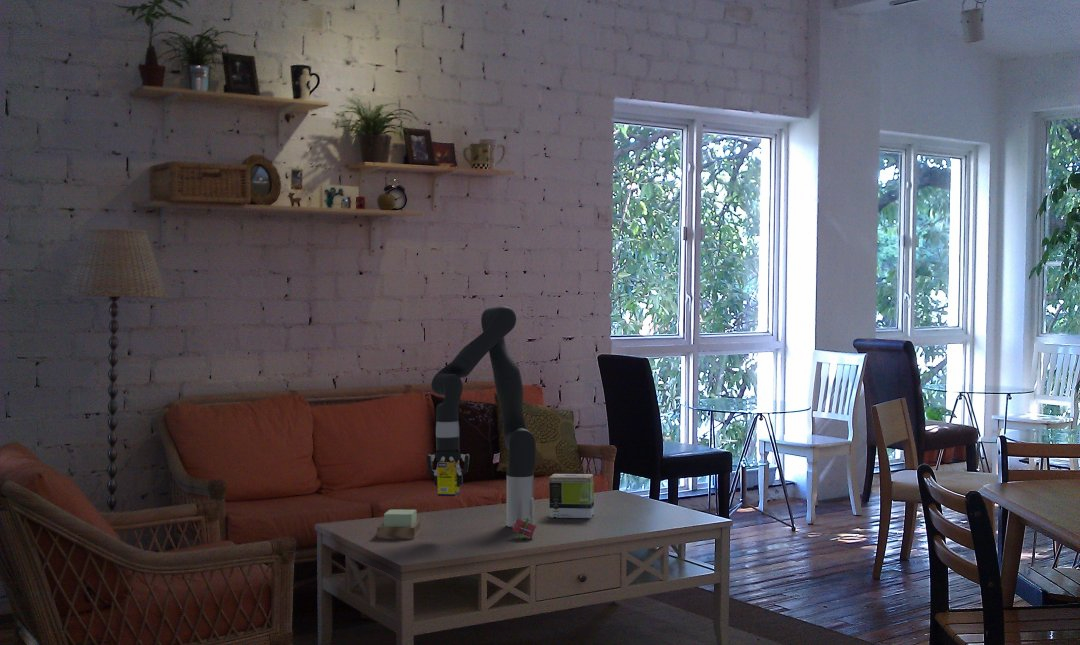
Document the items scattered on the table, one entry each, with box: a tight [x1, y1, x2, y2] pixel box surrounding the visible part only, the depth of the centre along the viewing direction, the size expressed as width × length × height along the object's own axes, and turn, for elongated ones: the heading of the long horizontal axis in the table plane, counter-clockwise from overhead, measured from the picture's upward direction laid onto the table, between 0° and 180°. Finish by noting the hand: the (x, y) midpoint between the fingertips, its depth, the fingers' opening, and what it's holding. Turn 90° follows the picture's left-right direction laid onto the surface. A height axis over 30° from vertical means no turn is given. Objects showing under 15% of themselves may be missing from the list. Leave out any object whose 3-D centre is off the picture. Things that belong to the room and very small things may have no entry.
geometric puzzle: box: [512, 518, 537, 540], centre depth 347 cm, size 7×7×8 cm
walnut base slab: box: [376, 520, 421, 540], centre depth 353 cm, size 12×12×4 cm
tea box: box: [548, 473, 595, 519], centre depth 387 cm, size 15×10×15 cm
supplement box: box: [436, 460, 461, 497], centre depth 350 cm, size 6×6×11 cm
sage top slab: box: [383, 509, 418, 527], centre depth 353 cm, size 9×9×4 cm
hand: (448, 486), depth 350 cm, fingers closed on supplement box, 6 cm apart
